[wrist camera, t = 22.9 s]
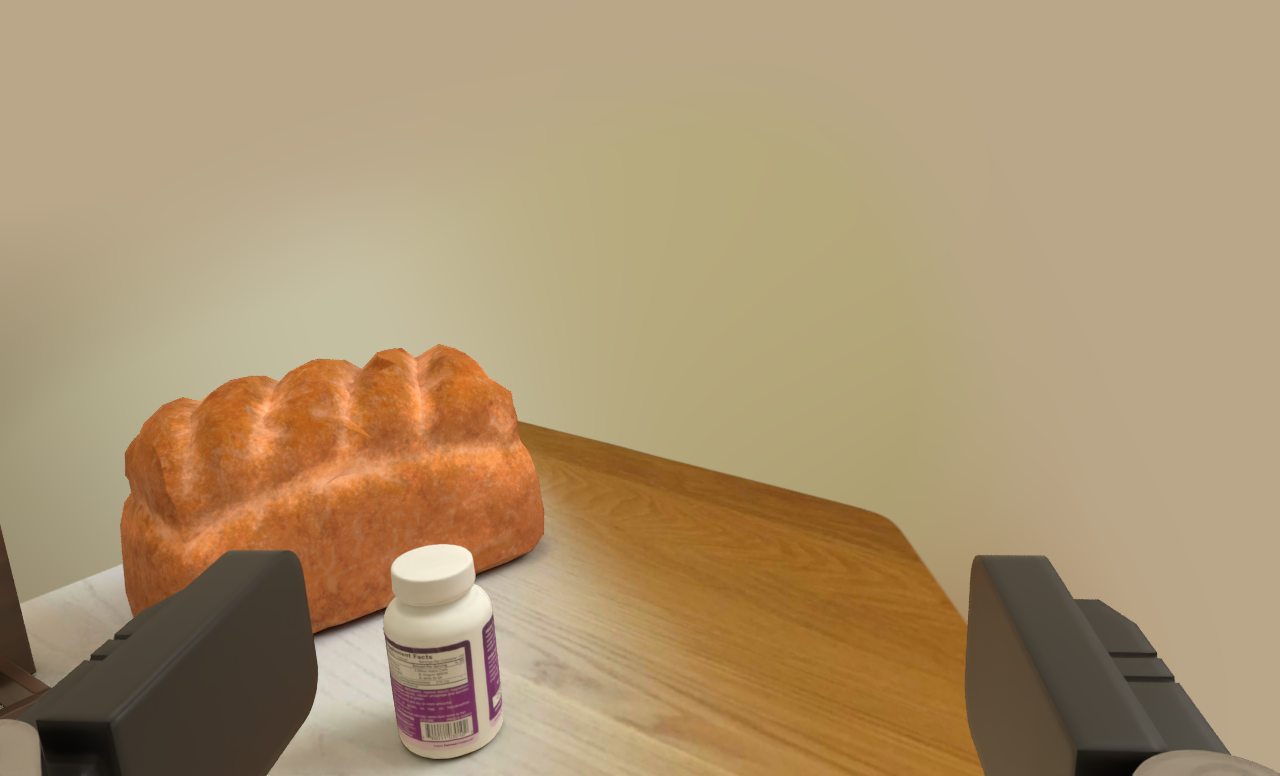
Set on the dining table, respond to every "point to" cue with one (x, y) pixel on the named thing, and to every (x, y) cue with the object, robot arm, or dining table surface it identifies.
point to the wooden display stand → (14, 650)
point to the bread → (331, 478)
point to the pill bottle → (442, 653)
